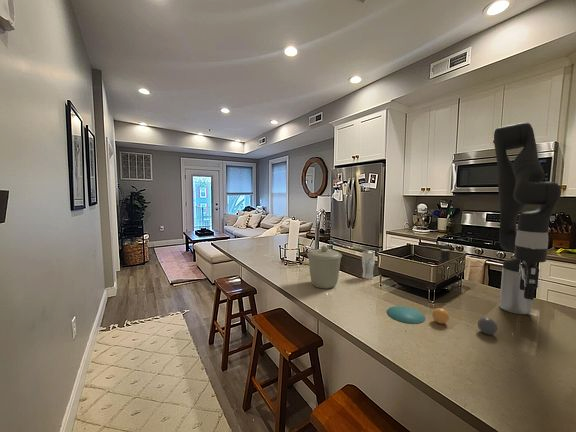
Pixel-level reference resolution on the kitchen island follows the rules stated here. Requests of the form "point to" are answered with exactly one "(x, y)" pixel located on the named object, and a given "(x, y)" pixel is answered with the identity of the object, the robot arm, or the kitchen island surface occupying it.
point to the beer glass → (368, 264)
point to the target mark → (406, 315)
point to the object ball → (440, 315)
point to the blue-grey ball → (487, 326)
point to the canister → (324, 267)
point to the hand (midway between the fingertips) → (526, 294)
